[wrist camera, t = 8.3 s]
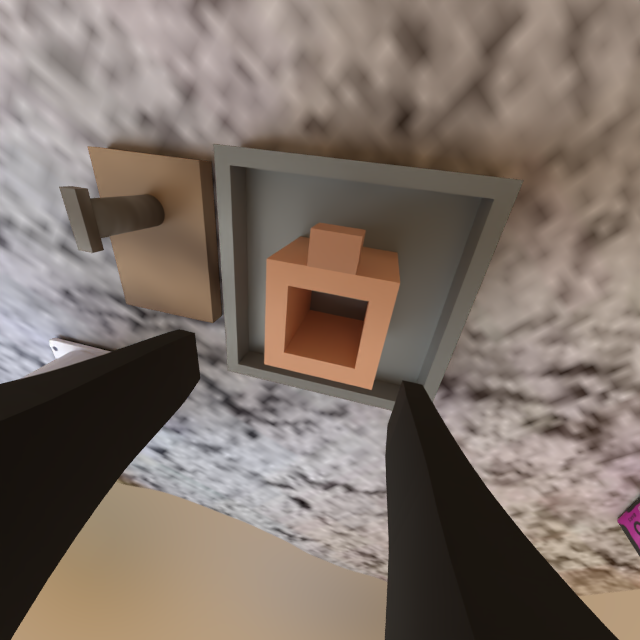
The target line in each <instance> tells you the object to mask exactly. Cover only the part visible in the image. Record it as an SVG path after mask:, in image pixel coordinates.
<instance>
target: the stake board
mask: <svg viewBox="0 0 640 640" xmlns="http://www.w3.org/2000/svg"><path fill="white" fill-rule="evenodd" d="M88 150H89V154H90V158H91V162H92V166H93V170H94V174H95V178H96V182H97V186H98V191H99V195H100V198H91V199H90V196H89V192H88V189H87V188H80V187H74V186H69V187H59V188H60V191H61V194H62V198H63V201H64V204H65V207H66V211H67V214H68V217H69V220H70V224H71V227H72V230H73V233H74V237H75V240H76V243H77V246H78V250H81V251H86V252H91V253H94V252H98V251H102V250H104V249H103V245H102V241H101V238H104V237H109V236H110V239H111V243H112V247H113V251H114V255H115V259H116V263H117V267H118V271H119V275H120V279H121V283H122V287H123V291H124V295H125V299H126V303H127V304H129V305H133V306H138V307H142V308H147V309H151V310H156V311H161V312H165V313H170V314H174V315H179V316H183V317H188V318H193V319H197V320H202V321H206V322H211V323H214V322H215V321H216V320H217V319H218V318H220V317H221V316H222V309H221V295H220V280H219V266H218V251H217V236H216V222H215V207H214V193H213V178H212V163H211V161H203V160H195V159H188V158H180V157H172V156H164V155H156V154H148V153H140V152H132V151H125V150H117V149H109V148H100V147H89V146H88Z"/></svg>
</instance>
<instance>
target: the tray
mask: <svg viewBox="0 0 640 640" xmlns="http://www.w3.org/2000/svg"><path fill="white" fill-rule="evenodd" d="M213 146H214V161H215V177H216V193H217V209H218V224H219V240H220V256H221V271H222V287H223V303H224V318H225V334H226V350H227V365H228V371H231V372H235V373H239V374H243V375H248V376H252V377H256V378H260V379H264V380H268V381H272V382H276V383H280V384H284V385H289V386H293V387H297V388H301V389H305V390H309V391H313V392H317V393H321V394H326V395H330V396H334V397H338V398H342V399H346V400H350V401H354V402H358V403H362V404H367V405H371V406H375V407H379V408H383V409H387V410H391V411H393V407H394V404H395V401H396V398H397V395H398V392H399V389H400V386H401V383H402V380H404V381H408V382H413V383H417V384H422V385H423V387H424V388H425V390H426V392H427V393H428V395H429V397H430V399H431V401H432V402H433V400H434V398H435V395H436V393H437V390H438V388H439V386H440V383H441V381H442V378H443V376H444V373H445V371H446V368H447V366H448V364H449V361H450V359H451V356H452V354H453V351H454V349H455V347H456V344H457V342H458V339H459V337H460V334H461V332H462V329H463V327H464V325H465V322H466V320H467V317H468V315H469V312H470V310H471V307H472V305H473V303H474V300H475V298H476V295H477V293H478V290H479V288H480V286H481V283H482V281H483V278H484V276H485V273H486V271H487V268H488V266H489V264H490V261H491V259H492V256H493V254H494V251H495V249H496V246H497V244H498V242H499V239H500V237H501V234H502V232H503V229H504V227H505V225H506V222H507V220H508V217H509V215H510V212H511V210H512V207H513V205H514V203H515V200H516V198H517V195H518V193H519V190H520V188H521V185H522V183H523V181H524V180H518V179H509V178H501V177H492V176H484V175H475V174H467V173H458V172H450V171H441V170H433V169H424V168H415V167H407V166H398V165H390V164H381V163H373V162H364V161H356V160H347V159H339V158H330V157H321V156H313V155H304V154H296V153H287V152H279V151H270V150H262V149H253V148H245V147H236V146H227V145H219V144H213ZM318 223H325V224H332V225H338V226H344V227H351V228H357V229H363V230H366V232H365V237H364V243H363V247H367V248H373V249H379V250H385V251H391V252H397V253H398V263H399V275H400V286H399V290H398V293H397V297H396V301H395V305H394V308H393V312H392V316H391V320H390V323H389V327H388V331H387V334H386V338H385V342H384V346H383V349H382V353H381V357H380V361H379V364H378V368H377V372H376V376H375V379H374V383H373V387H372V390H370V389H366V388H362V387H357V386H353V385H349V384H345V383H341V382H337V381H332V380H328V379H324V378H320V377H316V376H312V375H307V374H303V373H299V372H295V371H291V370H287V369H282V368H278V367H274V366H270V365H266V364H264V353H265V307H266V261H267V258H268V257H270V256H271V255H273V254H274V253H276V252H278V251H279V250H281V249H282V248H284V247H285V246H287V245H288V244H290V243H291V242H293V241H294V240H296V239H297V238H299V237H300V236H301V237H307V238H310V230H311V228H312V227H313V226H315V225H316V224H318ZM367 304H368V301H364V300H359V299H354V298H349V297H344V296H339V295H334V294H329V293H323V292H318V291H313V290H312V294H311V303H310V310H313V311H318V312H323V313H328V314H332V315H337V316H342V317H347V318H352V319H357V320H362V321H364V317H365V313H366V308H367Z"/></svg>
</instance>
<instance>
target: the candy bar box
mask: <svg viewBox="0 0 640 640" xmlns="http://www.w3.org/2000/svg"><path fill="white" fill-rule="evenodd" d="M617 521H618V523H619V525H620V526H621V528H622V529H623V531H624V533H625V534H626V536H627V537H628V539H629V540H630V542H631V544H632V545H633V547H634V548H635V550H636V551H637V553H638V554H639V556H640V498H639V499H638V500H637V501H636V502H635V503H634V504H633V505H632V506H631V507H630V508H629V509H628V510H627V511H626V512H625V513H624V514H623V515H622V516H621V517H620V518H619V519H618V520H617Z"/></svg>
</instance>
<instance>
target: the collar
mask: <svg viewBox="0 0 640 640" xmlns="http://www.w3.org/2000/svg"><path fill="white" fill-rule="evenodd" d="M365 232H366V230H363V229H357V228H351V227H344V226H338V225H332V224H325V223H318V224H316V225H315V226H313V227H312V228H311V230H310V238H307V237H301V236H300V237H299V238H297V239H296V240H294V241H293V242H291V243H290V244H288V245H287V246H285V247H284V248H282V249H281V250H279V251H278V252H276V253H274V254H273V255H271V256H270V257H268V258H267V261H266V307H265V353H264V364H266V365H270V366H274V367H278V368H282V369H287V370H291V371H295V372H299V373H303V374H307V375H312V376H316V377H320V378H324V379H328V380H332V381H337V382H341V383H345V384H349V385H353V386H357V387H362V388H366V389H370V390H372V387H373V383H374V379H375V376H376V372H377V368H378V364H379V361H380V357H381V353H382V349H383V346H384V342H385V338H386V334H387V331H388V327H389V323H390V320H391V316H392V312H393V308H394V305H395V301H396V297H397V293H398V290H399V286H400V275H399V263H398V253H397V252H391V251H385V250H379V249H373V248H367V247H363V243H364V237H365ZM312 290H313V291H318V292H323V293H329V294H334V295H339V296H344V297H349V298H354V299H359V300H364V301H368V304H367V308H366V313H365V317H364V321H362V320H357V319H352V318H347V317H342V316H337V315H332V314H328V313H323V312H318V311H313V310H310V303H311V294H312Z"/></svg>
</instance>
